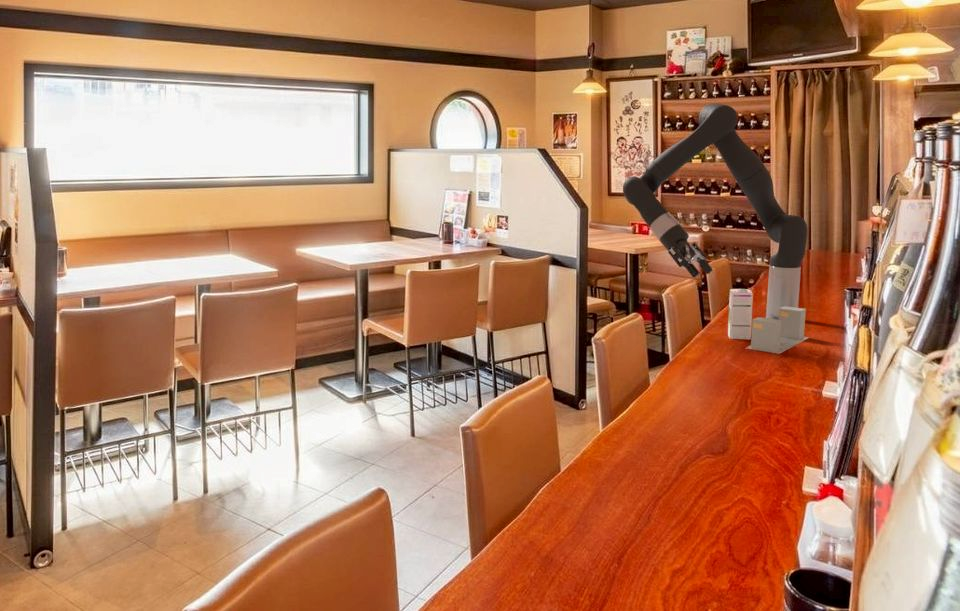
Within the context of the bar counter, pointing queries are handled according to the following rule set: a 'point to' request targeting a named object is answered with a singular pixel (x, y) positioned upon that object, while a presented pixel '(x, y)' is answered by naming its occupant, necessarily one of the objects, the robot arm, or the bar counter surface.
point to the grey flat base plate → (786, 343)
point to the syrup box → (740, 314)
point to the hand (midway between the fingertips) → (703, 273)
